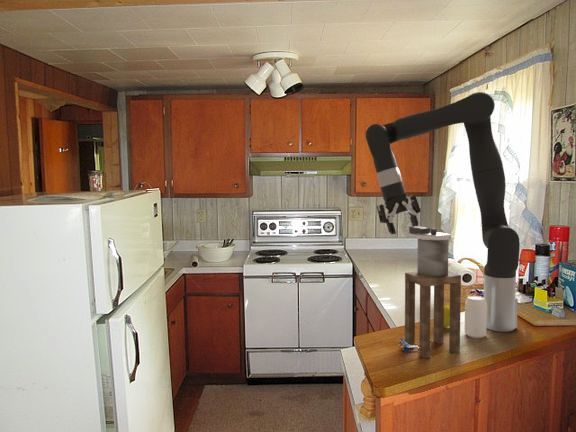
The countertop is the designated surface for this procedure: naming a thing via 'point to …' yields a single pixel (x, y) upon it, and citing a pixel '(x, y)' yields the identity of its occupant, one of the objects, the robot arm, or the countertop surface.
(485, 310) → the beverage can
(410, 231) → the cooker lid
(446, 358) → the countertop surface
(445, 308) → the lemon
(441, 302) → the stand
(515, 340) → the countertop surface
